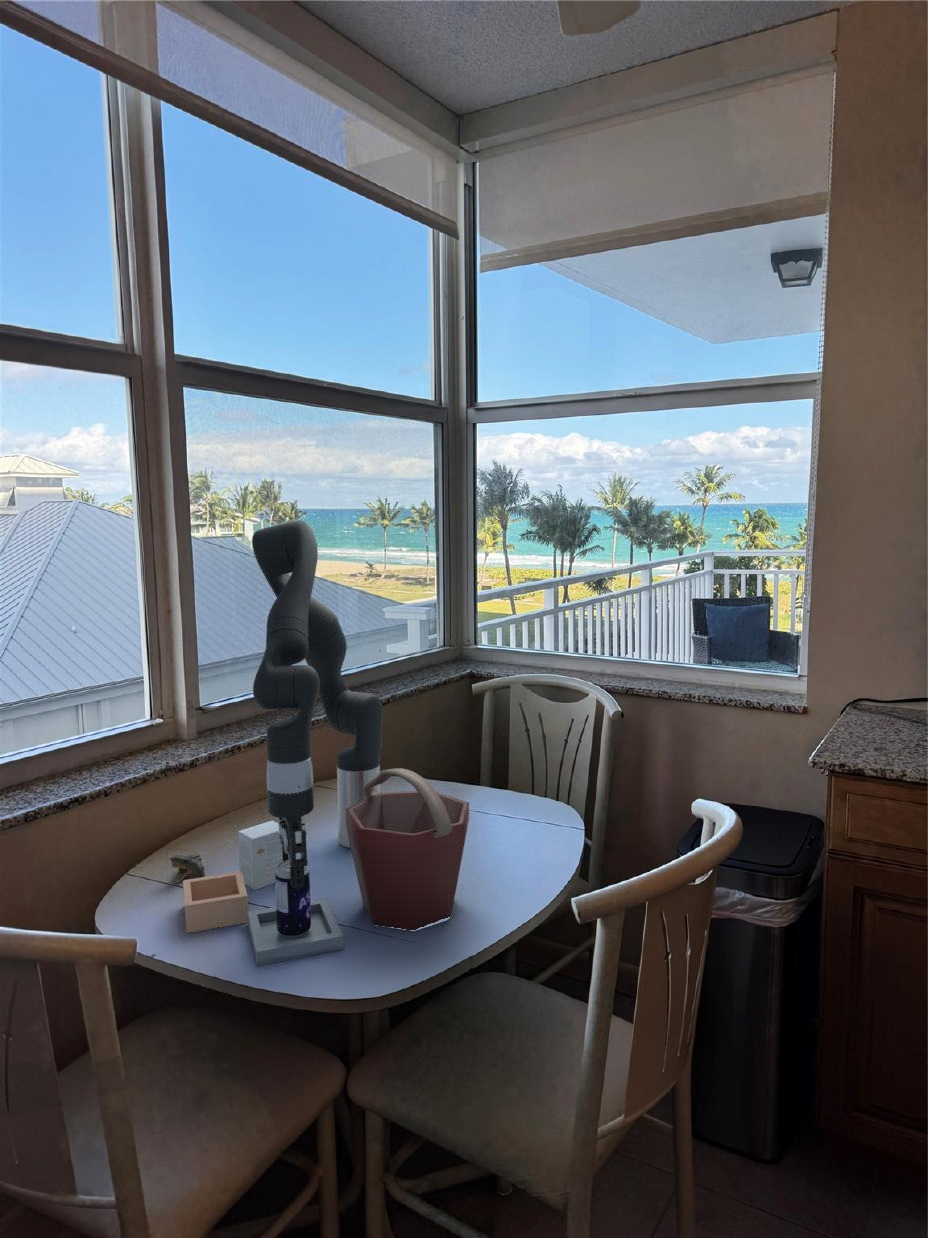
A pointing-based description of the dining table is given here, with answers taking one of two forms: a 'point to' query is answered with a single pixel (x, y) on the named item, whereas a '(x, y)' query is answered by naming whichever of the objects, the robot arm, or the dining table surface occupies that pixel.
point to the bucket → (407, 851)
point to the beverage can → (292, 903)
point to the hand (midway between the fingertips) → (293, 876)
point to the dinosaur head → (187, 866)
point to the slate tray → (280, 948)
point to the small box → (259, 854)
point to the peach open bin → (215, 901)
